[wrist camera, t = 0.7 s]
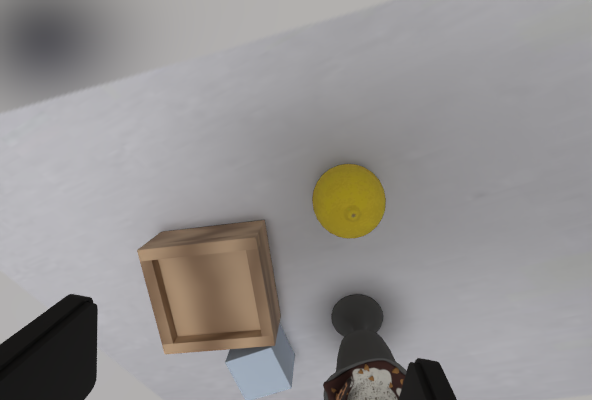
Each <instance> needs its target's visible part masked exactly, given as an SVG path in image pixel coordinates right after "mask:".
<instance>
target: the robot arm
mask: <svg viewBox="0 0 592 400" xmlns="http://www.w3.org/2000/svg"><path fill="white" fill-rule="evenodd" d="M96 373H97V305H96V304H94V303H93V300H92V298H90V297H85V296H80V295H74V294H70V295H68V296H66V297H65V298H63V299H62V300H61V301H59V302H58V303H56V304H55V305H54V306H52V307H51V308H50V309H48V310H47V311H46V312H44V313H43V314H41V315H40V316H39V317H37V318H36V319H35V320H33V321H32V322H31V323H29V324H28V325H27V326H25V327H24V328H22V329H21V330H20V331H18V332H17V333H15V334H14V335H13V336H11V337H10V338H9V339H7V340H6V341H4V342H3V343H2V344H0V400H84V399H85V398H86V397H87V396H88V394H89V393H90V392H91V390H92V389H93V387H94V385H95V382H96ZM398 400H457V399H456V397H455V395H454V393H453V391H452V388H451V386H450V384H449V382H448V380H447V378H446V376H445V374H444V371H443V369H442V367H441V365H440V364H439V362H436V361H431V360H426V359H420V358H418V359H417V360H416V361H415V363H413V362H411V363H410V364H409V366H408V369H407V372H406V376H405V379H404V382H403V386H402V389H401V393H400V396H399V399H398Z"/></svg>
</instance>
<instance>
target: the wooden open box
mask: <svg viewBox="0 0 592 400" xmlns="http://www.w3.org/2000/svg"><path fill="white" fill-rule="evenodd" d="M137 252H138V255H139V259H140V263H141V267H142V270H143V274H144V278H145V282H146V285H147V289H148V293H149V297H150V300H151V304H152V308H153V312H154V315H155V319H156V323H157V327H158V330H159V334H160V338H161V342H162V345H163V349H164V353H165V354H175V353H188V352H201V351H213V350H226V349H239V348H252V347H265V346H275V344H276V338H277V333H278V328H279V322H280V317H281V314H280V308H279V303H278V297H277V291H276V285H275V279H274V273H273V267H272V261H271V255H270V249H269V243H268V237H267V231H266V225H265V220H260V221H251V222H243V223H234V224H225V225H216V226H208V227H199V228H190V229H181V230H173V231H164V232H160V233H159V234H158V235H156V236H155V237H154V238H153V239H151V240H150V241H149V242H147V243H146V244H145V245H143V246H142V247H141V248H139V249H138V250H137Z"/></svg>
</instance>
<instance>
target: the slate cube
mask: <svg viewBox="0 0 592 400" xmlns="http://www.w3.org/2000/svg"><path fill="white" fill-rule="evenodd" d="M294 358H295V354H294V352H293V350H292V348H291V346H290V344H289V342H288V340H287V338H286V335H285V333H284V331H283V329H282V327H281V325H280V323H279V328H278V333H277V338H276V344H275V346H265V347H252V348H239V349H230V351H229V354H228V356H227V359H226V362H225V363H226V365H227V367H228V369H229V371H230V372H231V374H232V376H233V378H234V380H235V382H236V384H237V385H238V387H239V389H240V391H241V393H242V395H243V397H244V398H245V400H254V399H257V398H261V397H264V396H267V395H271V394H274V393H277V392H281V391H284V390H287V389H290V388H291V387H292V377H293V367H294Z"/></svg>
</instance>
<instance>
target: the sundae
mask: <svg viewBox="0 0 592 400" xmlns="http://www.w3.org/2000/svg"><path fill="white" fill-rule="evenodd" d="M382 322H383V313H382V310H381V308H380V306H379V304H378V303H377V302H376V301H375V300H373V299H372V298H370V297H367V296H364V295H350V296H347V297H345V298H343V299H341V300H340V301H339V302H338V303H337V304H336V305H335V307H334V309H333V312H332V323H333V325H334V327H335V329H336V330H337V332H339V333H340V334H341V335H342V336H344V338H343V340H342V342H341V345H340V348H339V352H338V358H337V367H336V372H335V373H334V374H333V375H331V376H330V377H329V379H328V380H327V381H326V382H324V384H323V386H324V400H398V399H399V396H400V393H401V389H402V386H403V382H404V379H405V376H406V372H407V371H406V370H405V369H404V368H403V367H402V366H401V365H400V364H398V363H397V362H396V361H395V359H394V357H393V355H392V353H391V351H390V349H389V348H388V346H387V345H386V343H385V342H384V340H383V339H382V338H381V337H380V336H379V335H378V334H377V333H376V332H377V331H378V330H379V329H380V327H381V325H382Z"/></svg>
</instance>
